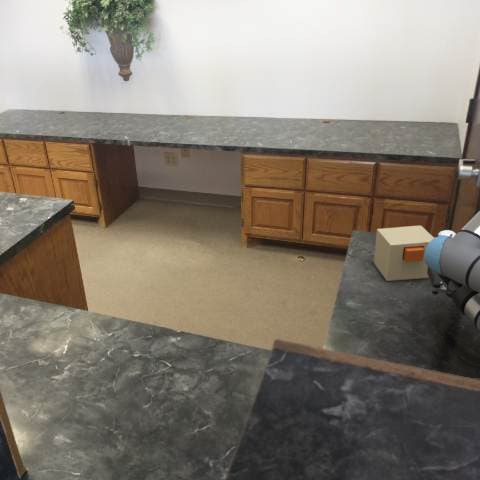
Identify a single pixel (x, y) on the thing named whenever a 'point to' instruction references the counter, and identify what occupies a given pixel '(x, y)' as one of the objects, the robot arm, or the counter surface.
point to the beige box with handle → (400, 252)
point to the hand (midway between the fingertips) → (428, 251)
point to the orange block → (413, 254)
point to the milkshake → (447, 233)
